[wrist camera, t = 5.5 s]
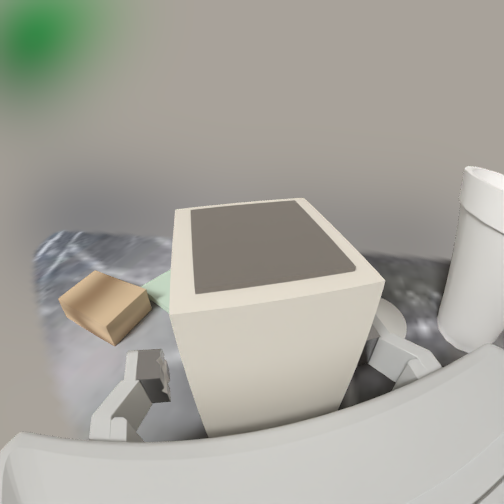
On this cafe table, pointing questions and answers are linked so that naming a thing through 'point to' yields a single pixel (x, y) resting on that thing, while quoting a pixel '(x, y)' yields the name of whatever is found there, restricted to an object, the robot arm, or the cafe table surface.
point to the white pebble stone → (391, 318)
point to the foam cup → (476, 264)
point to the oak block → (106, 306)
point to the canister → (267, 312)
